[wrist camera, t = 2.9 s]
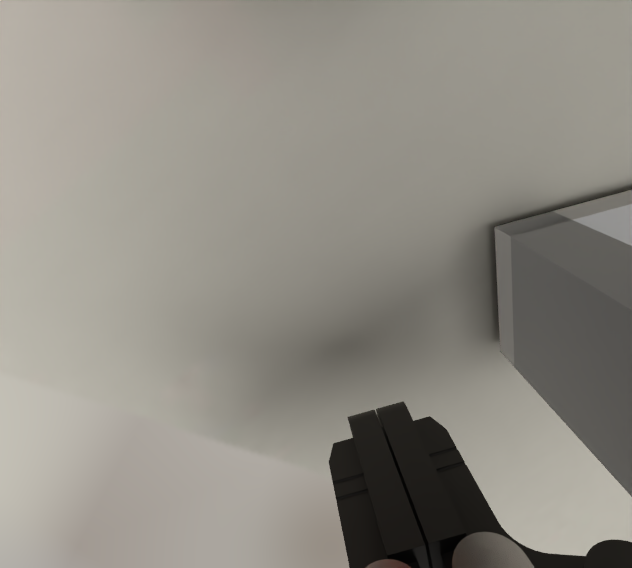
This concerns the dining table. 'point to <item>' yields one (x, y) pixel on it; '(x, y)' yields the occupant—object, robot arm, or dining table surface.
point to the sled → (574, 318)
